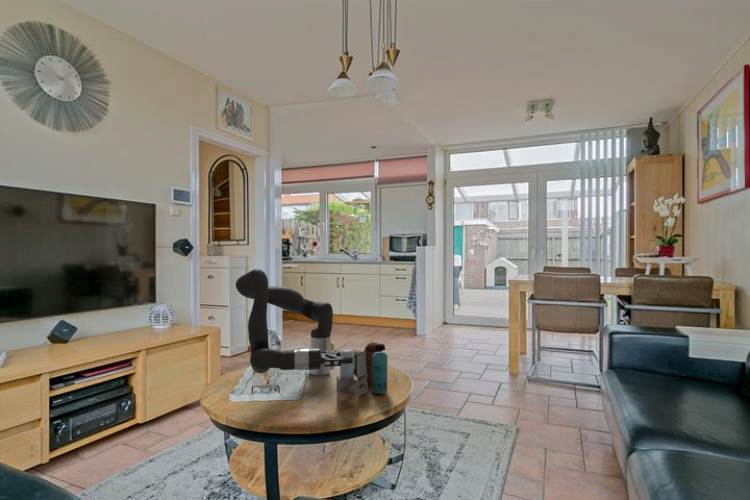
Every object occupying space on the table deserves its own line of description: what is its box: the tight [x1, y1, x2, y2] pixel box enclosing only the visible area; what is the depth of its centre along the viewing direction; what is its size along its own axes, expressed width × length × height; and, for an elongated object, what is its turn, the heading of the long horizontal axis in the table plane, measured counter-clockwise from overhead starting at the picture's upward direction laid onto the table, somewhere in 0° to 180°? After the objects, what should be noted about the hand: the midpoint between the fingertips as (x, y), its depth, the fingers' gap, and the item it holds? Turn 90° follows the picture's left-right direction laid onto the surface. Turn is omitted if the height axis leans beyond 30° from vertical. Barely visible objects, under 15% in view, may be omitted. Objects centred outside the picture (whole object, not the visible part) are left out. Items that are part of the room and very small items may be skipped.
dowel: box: [339, 348, 355, 380], centre depth 154 cm, size 5×5×10 cm
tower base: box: [336, 390, 359, 409], centre depth 154 cm, size 7×7×5 cm
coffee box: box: [353, 349, 369, 397], centre depth 168 cm, size 9×6×16 cm
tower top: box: [336, 374, 359, 395], centre depth 154 cm, size 7×7×5 cm
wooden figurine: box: [362, 342, 383, 387], centre depth 178 cm, size 12×6×18 cm, turn 41°
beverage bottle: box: [370, 343, 389, 394], centre depth 165 cm, size 6×7×20 cm
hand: (351, 357), depth 155 cm, fingers open, 8 cm apart
